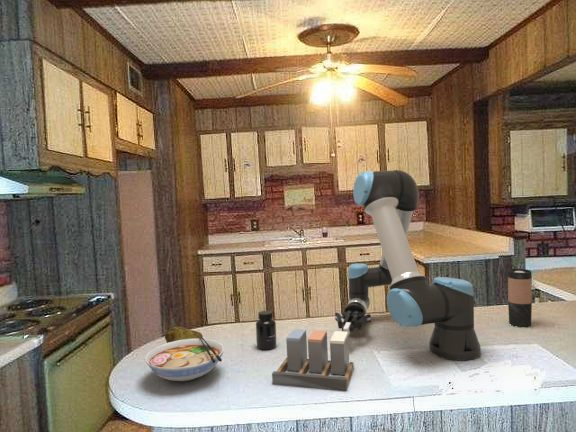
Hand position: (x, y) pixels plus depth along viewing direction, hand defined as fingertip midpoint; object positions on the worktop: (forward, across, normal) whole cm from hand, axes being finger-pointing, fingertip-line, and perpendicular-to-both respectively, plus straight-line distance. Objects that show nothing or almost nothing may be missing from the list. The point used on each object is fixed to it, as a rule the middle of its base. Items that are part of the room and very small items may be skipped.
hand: (345, 332), depth 137 cm
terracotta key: (+11, +6, -7) cm, 15 cm away
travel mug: (-39, -58, -7) cm, 70 cm away
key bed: (+17, +6, -7) cm, 20 cm away
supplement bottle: (-2, +28, -7) cm, 29 cm away
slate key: (+11, +13, -7) cm, 19 cm away
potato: (+5, +56, -7) cm, 56 cm away
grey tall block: (+11, 0, -7) cm, 13 cm away
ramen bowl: (+25, +44, -7) cm, 50 cm away
